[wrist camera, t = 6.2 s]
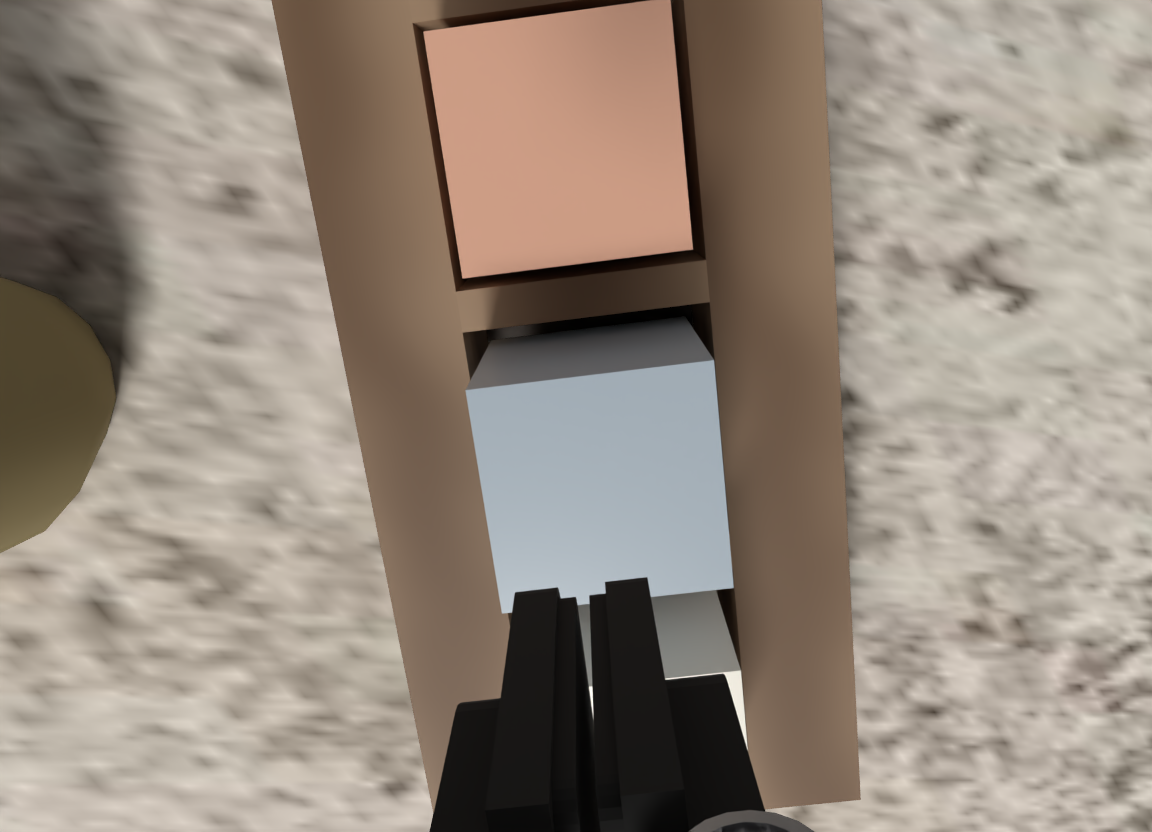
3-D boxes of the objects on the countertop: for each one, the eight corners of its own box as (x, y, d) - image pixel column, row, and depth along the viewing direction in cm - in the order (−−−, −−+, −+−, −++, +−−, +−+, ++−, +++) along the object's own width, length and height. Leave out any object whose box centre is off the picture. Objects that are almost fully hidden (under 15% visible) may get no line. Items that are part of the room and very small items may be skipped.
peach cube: (651, 33, 23) (670, -3, 18) (669, 231, 25) (693, 249, 19) (458, 60, 23) (423, 31, 18) (487, 254, 25) (462, 278, 20)
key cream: (708, 566, 25) (741, 670, 20) (723, 723, 26) (757, 858, 21) (528, 586, 25) (515, 695, 20) (552, 741, 26) (545, 879, 21)
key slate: (685, 316, 23) (713, 360, 18) (702, 499, 24) (733, 588, 19) (491, 340, 23) (465, 390, 18) (518, 520, 25) (502, 613, 20)
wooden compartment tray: (773, -61, 24) (816, -110, 19) (820, 706, 30) (860, 799, 25) (322, 2, 24) (265, -33, 20) (459, 744, 30) (439, 841, 26)
